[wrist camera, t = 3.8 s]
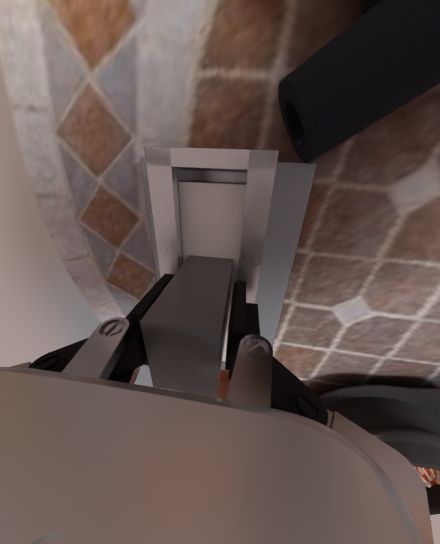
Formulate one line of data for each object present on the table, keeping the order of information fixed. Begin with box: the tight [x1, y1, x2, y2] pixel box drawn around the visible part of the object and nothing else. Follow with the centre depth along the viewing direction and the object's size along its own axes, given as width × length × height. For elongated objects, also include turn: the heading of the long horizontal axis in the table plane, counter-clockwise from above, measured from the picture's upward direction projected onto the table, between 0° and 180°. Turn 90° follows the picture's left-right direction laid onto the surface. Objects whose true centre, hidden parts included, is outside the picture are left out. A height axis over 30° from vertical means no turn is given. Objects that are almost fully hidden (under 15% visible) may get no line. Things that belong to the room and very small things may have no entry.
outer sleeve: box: [144, 147, 279, 304], centre depth 14 cm, size 12×6×7 cm, turn 177°
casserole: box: [318, 384, 440, 515], centre depth 24 cm, size 25×19×8 cm
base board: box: [140, 157, 317, 348], centre depth 21 cm, size 28×14×1 cm, turn 177°
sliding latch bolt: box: [140, 181, 247, 397], centre depth 13 cm, size 16×4×11 cm, turn 177°
